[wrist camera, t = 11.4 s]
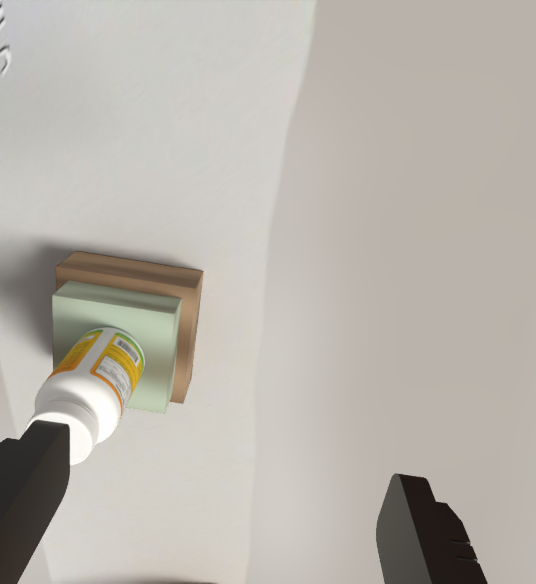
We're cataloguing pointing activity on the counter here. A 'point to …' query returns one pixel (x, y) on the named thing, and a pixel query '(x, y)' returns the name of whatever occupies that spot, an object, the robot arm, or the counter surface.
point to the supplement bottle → (91, 388)
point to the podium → (132, 318)
